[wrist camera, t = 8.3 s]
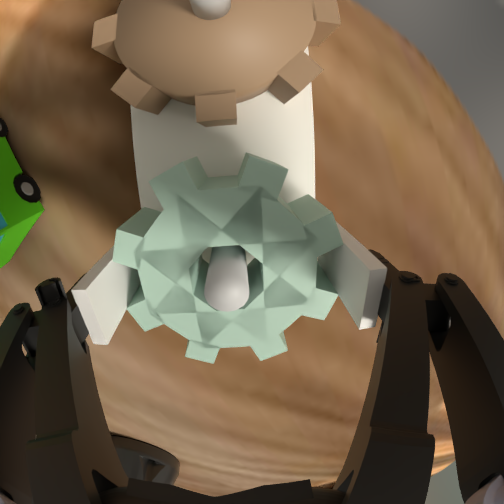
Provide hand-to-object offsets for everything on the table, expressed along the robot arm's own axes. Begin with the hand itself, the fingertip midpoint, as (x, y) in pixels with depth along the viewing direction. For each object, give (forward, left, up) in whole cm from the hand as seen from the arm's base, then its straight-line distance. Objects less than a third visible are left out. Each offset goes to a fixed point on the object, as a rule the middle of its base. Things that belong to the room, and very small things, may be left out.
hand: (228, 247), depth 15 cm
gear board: (0, +8, -4) cm, 9 cm away
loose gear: (0, 0, 0) cm, 0 cm away
